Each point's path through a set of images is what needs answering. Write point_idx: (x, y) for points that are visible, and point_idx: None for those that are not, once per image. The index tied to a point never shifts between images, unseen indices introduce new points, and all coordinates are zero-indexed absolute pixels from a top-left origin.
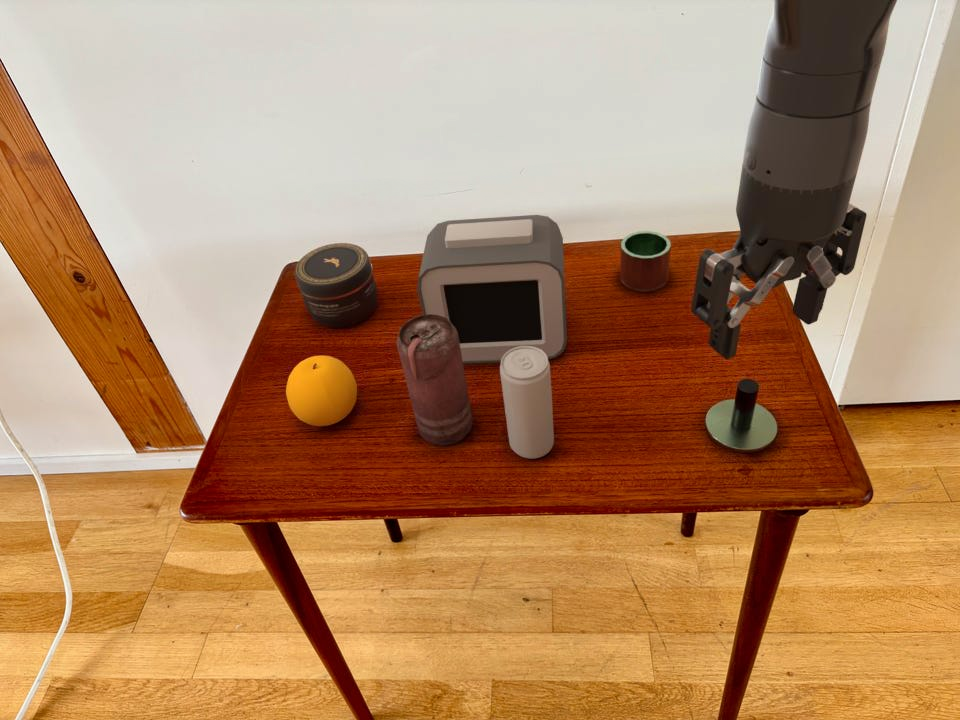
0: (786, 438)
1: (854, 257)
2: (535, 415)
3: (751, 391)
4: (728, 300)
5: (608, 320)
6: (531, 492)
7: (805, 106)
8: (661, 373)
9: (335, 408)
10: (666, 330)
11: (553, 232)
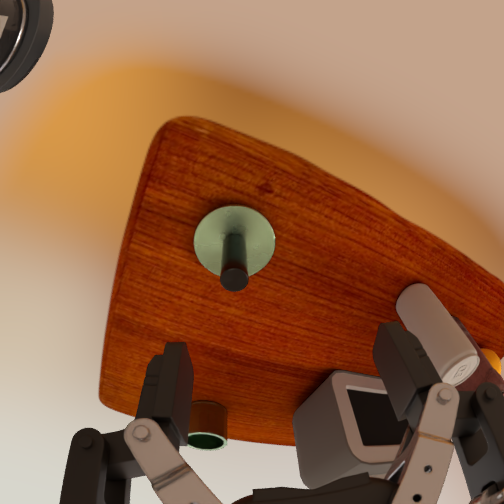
0: (193, 208)
1: (72, 467)
2: (448, 319)
3: (237, 270)
4: (408, 441)
5: (263, 389)
6: (442, 254)
7: None
8: (260, 330)
9: (488, 358)
10: (222, 367)
11: (322, 481)
